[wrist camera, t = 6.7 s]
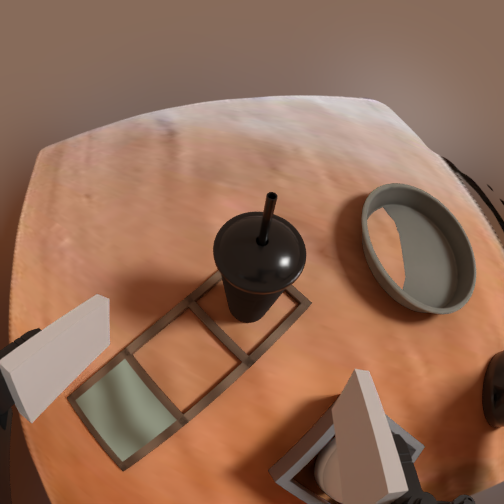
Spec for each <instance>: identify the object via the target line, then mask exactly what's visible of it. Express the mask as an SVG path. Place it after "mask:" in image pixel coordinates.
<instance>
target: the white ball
mask: <svg viewBox="0 0 504 504" xmlns="http://www.w3.org/2000/svg"><path fill="white" fill-rule="evenodd" d="M314 477H315V481H316V483H317V485H318V486H319V487H320V489H321V490H323V491H324V492H325V493H326V494H327V495H329V496H330V497H331V498H332V499H334V500H335V501H337V502H339V503H342V504H343V500H342V489H341V479H340V470H339V461H338V453H337V445H336V437H335V438H333V439H332V440H331V441H330V442H328V443H327V444H326V445H325V447H324V448H323V449H322V450H321V452H320V453H319V455H318V457H317V460H316V462H315V466H314Z"/></svg>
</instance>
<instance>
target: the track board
mask: <svg viewBox="0 0 504 504" xmlns="http://www.w3.org/2000/svg"><path fill="white" fill-rule="evenodd" d="M221 280H222V276H221V273H220V272H219V271H217V272H216V273H215V274H214V275H213V276H211V277H210V278H209V279H208V280H207V281H205V282H204V283H203V284H202V285H201V286H199V287H198V288H197V289H196V290H195V291H193V292H192V293H191V294H190V295H188V296H187V297H186V298H185V299H184V300H182V301H181V302H180V303H179V304H178V305H176V306H175V307H174V308H173V309H172V310H170V311H169V312H168V313H167V314H166V315H164V316H163V317H162V318H161V319H160V320H158V321H157V322H156V323H155V324H154V325H152V326H151V327H150V328H149V329H148V330H146V331H145V332H144V333H143V334H142V335H140V336H139V337H138V338H137V339H136V340H134V341H133V342H132V343H131V344H130V345H129V346H127V347H126V348H125V349H124V350H123V351H121V352H120V353H119V354H118V355H117V356H115V357H114V358H113V359H112V360H111V361H110V362H108V363H107V364H106V365H105V366H104V367H102V368H101V369H100V370H99V371H98V372H96V373H95V374H94V375H93V376H92V377H91V378H89V379H88V380H87V381H86V382H85V383H83V384H82V385H81V386H80V387H79V388H78V389H76V390H75V391H74V392H73V393H72V394H71V395H69V396H68V397H67V399H68V401H69V402H70V404H71V405H72V407H73V408H74V410H75V411H76V413H77V414H78V416H79V417H80V419H81V420H82V422H83V423H84V424H85V426H86V427H87V429H88V430H89V431H90V433H91V434H92V435H93V437H94V438H95V439H96V440H97V442H98V443H99V444H100V445H101V447H102V448H103V449H104V450H105V452H106V453H107V454H108V455H109V456H110V457H111V459H112V460H113V461H114V462H115V463H116V464H117V465H118V467H119V468H120V469H121V470H122V471H125V470H126V469H128V468H129V467H130V466H132V465H133V464H135V463H136V462H137V461H139V460H140V459H142V458H143V457H144V456H146V455H147V454H148V453H150V452H151V451H152V450H154V449H155V448H156V447H158V446H159V445H160V444H162V443H163V442H164V441H165V440H167V439H168V438H169V437H171V436H172V435H173V434H174V433H176V432H177V431H178V430H179V429H181V428H182V427H183V426H184V425H185V424H187V423H188V422H189V421H190V420H191V419H193V418H194V417H195V416H196V415H197V414H199V413H200V412H201V411H202V410H203V409H204V408H206V407H207V406H208V405H209V404H210V403H211V402H212V401H214V400H215V399H216V398H217V397H218V396H219V395H220V394H222V393H223V392H224V391H225V390H226V389H227V388H228V387H229V386H230V385H231V384H233V383H234V382H235V381H236V380H237V379H238V378H239V377H240V376H241V375H242V374H243V373H244V372H245V371H246V370H247V369H249V368H250V367H251V366H252V365H253V364H254V363H255V362H256V361H257V360H258V359H259V358H260V357H261V356H262V355H263V354H264V353H265V352H266V351H267V350H268V349H269V348H270V347H271V346H272V345H273V344H274V343H275V342H276V341H277V340H278V339H279V338H280V337H281V336H282V335H283V334H284V333H285V332H286V331H287V330H288V329H289V328H290V327H291V325H292V324H293V323H294V322H295V321H296V320H297V319H298V318H299V317H300V316H301V315H302V314H303V313H304V312H305V311H306V309H307V308H308V307H309V306H310V305H311V304H312V302H311V301H309V300H308V299H307V298H306V297H305V296H304V295H303V294H302V293H301V292H299V291H298V290H297V289H296V288H295V287H294V286H293V285H290V286H289V287H287V288H286V289H285V291H286V292H287V293H288V294H289V295H290V296H291V297H293V298H294V299H295V300H296V301H297V302H298V303H299V304H300V305H299V306H298V307H297V309H296V310H295V311H294V312H293V313H292V314H291V315H290V316H289V317H288V318H287V319H286V320H285V321H284V322H283V323H282V324H281V325H280V326H279V327H278V328H277V329H276V330H275V331H274V332H273V333H272V334H271V335H270V336H269V337H268V338H267V339H266V340H265V341H264V342H263V343H262V344H261V345H260V346H259V347H258V348H257V349H256V350H255V351H254V352H253V353H252V354H251V355H250V356H248V355H247V354H246V353H245V352H244V351H243V350H242V349H241V348H240V347H239V346H238V345H237V344H236V343H235V342H234V341H233V340H232V339H231V338H230V337H229V336H228V335H227V334H226V333H225V332H224V331H223V330H222V329H221V328H220V327H219V326H218V325H217V324H216V323H215V322H214V321H213V320H212V319H211V318H210V317H209V316H208V315H207V314H206V313H205V312H204V311H203V309H202V308H201V307H200V306H199V305H198V304H197V303H196V301H197V300H198V299H199V298H200V297H202V296H203V295H204V294H205V293H206V292H207V291H209V290H210V289H211V288H212V287H213V286H215V285H216V284H217V283H218V282H219V281H221ZM188 307H189V308H190V309H191V310H192V311H193V312H194V314H195V315H196V316H197V317H198V318H199V319H200V320H201V321H202V322H203V323H204V324H205V325H206V326H207V327H208V328H209V329H210V331H211V332H212V333H213V334H214V335H215V336H216V337H217V338H218V339H219V340H220V341H221V342H222V343H223V344H224V345H225V346H226V347H227V348H228V349H229V350H230V351H231V352H232V353H233V354H234V355H235V356H236V357H237V358H238V359H239V360H240V361H241V362H242V363H241V364H240V365H239V366H238V367H237V368H236V369H235V370H234V371H233V372H232V373H230V374H229V375H228V376H227V377H226V378H225V379H224V380H223V381H222V382H221V383H219V384H218V385H217V386H216V387H215V388H214V389H213V390H212V391H210V392H209V393H208V394H207V395H206V396H205V397H204V398H202V399H201V400H200V401H199V402H198V403H197V404H195V405H194V406H193V407H192V408H191V409H190V410H188V411H187V412H186V413H185V414H183V413H182V412H181V411H180V410H179V409H178V408H177V407H176V406H175V405H174V404H173V403H172V402H171V400H170V399H169V398H168V397H167V396H166V395H165V394H164V393H163V392H162V390H161V389H160V388H159V387H158V386H157V385H156V383H155V382H154V381H153V380H152V379H151V377H150V376H149V375H148V374H147V373H146V371H145V370H144V369H143V368H142V366H141V365H140V364H139V363H138V361H137V360H136V359H135V357H134V356H133V354H134V353H135V352H136V351H137V350H139V349H140V348H141V347H142V346H143V345H144V344H146V343H147V342H148V341H149V340H150V339H152V338H153V337H154V336H155V335H156V334H158V333H159V332H160V331H161V330H162V329H164V328H165V327H166V326H167V325H168V324H169V323H171V322H172V321H173V320H174V319H175V318H177V317H178V316H179V315H180V314H181V313H183V312H184V311H185V310H186V309H187V308H188Z"/></svg>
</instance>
